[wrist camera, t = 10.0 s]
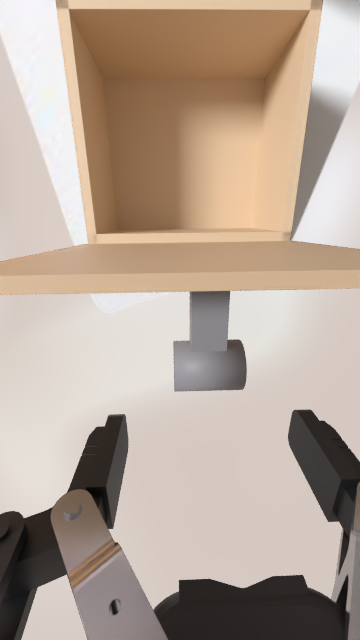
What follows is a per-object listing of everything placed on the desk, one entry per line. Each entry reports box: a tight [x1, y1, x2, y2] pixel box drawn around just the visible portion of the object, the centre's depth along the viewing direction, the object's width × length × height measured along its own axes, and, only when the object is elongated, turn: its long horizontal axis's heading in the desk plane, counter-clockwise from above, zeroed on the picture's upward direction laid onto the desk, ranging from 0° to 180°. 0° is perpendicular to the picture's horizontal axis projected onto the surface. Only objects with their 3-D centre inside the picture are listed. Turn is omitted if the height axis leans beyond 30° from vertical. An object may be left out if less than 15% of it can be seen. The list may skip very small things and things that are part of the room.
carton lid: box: [0, 241, 360, 391], centre depth 17 cm, size 16×18×6 cm
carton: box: [56, 0, 323, 244], centre depth 25 cm, size 16×18×10 cm
